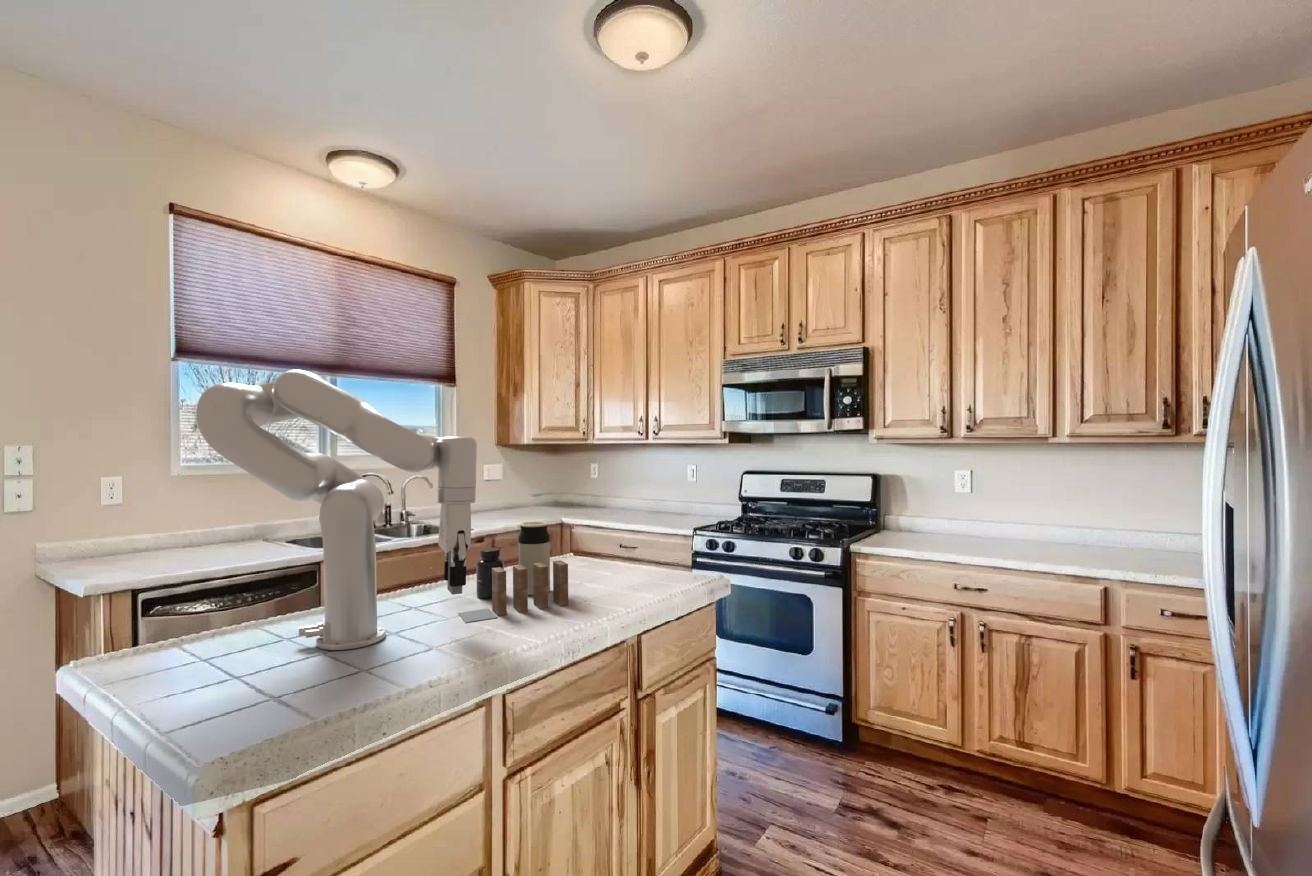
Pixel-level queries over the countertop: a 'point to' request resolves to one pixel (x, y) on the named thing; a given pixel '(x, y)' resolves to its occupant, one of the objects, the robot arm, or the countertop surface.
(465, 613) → the pad
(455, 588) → the domino
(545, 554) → the travel mug
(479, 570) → the supplement bottle
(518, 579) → the domino
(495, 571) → the domino
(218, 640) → the countertop surface
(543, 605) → the domino
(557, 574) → the domino
